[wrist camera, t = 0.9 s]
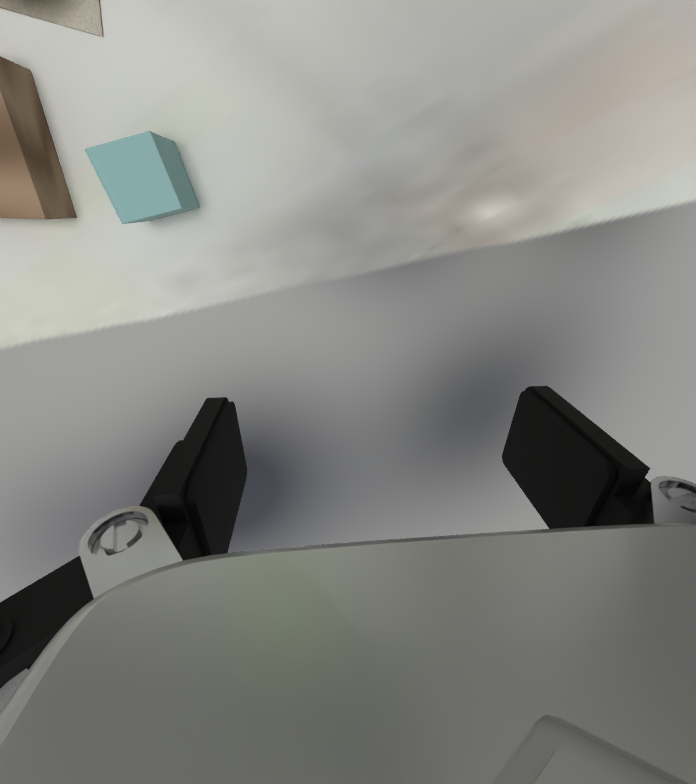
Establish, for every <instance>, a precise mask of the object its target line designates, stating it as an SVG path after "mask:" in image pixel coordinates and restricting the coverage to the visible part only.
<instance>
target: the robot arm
mask: <svg viewBox="0 0 696 784" xmlns="http://www.w3.org/2000/svg"><path fill="white" fill-rule="evenodd" d="M502 459H503V463H504V465H505V466H506V468H507V469H508V471H509V472H510V473H511V475H512V476H513V478H514V479H515V481H516V482H517V483H518V485H519V486H520V488H521V489H522V491H523V492H524V493H525V495H526V496H527V498H528V499H529V500H530V502H531V503H532V505H533V506H534V508H535V509H536V510H537V512H538V513H539V514H540V516H541V517H542V519H543V520H544V522H545V523H546V524H547V526H548V527H549V529H542V530H525V531H509V532H495V533H479V534H463V535H449V536H434V537H419V538H405V539H390V540H376V541H362V542H349V543H335V544H321V545H308V546H296V547H284V548H272V549H261V550H250V551H240V552H232V553H227V552H228V548H229V544H230V540H231V536H232V533H233V529H234V524H235V521H236V517H237V513H238V509H239V505H240V501H241V497H242V493H243V489H244V486H245V482H246V476H247V466H246V461H245V456H244V450H243V445H242V440H241V435H240V429H239V424H238V419H237V413H236V408H235V404H234V402H229V401H228V399H227V398H226V397H224V398H223V397H222V398H207V399H206V400H205V402H204V404H203V406H202V408H201V409H200V411H199V413H198V415H197V416H196V418H195V420H194V422H193V424H192V425H191V427H190V429H189V431H188V433H187V434H186V436H185V438H184V440H181V441H178V442H177V443H176V444H175V445H174V447H173V449H172V451H171V453H170V454H169V456H168V457H167V459H166V461H165V463H164V464H163V466H162V468H161V470H160V471H159V473H158V475H157V476H156V478H155V480H154V482H153V483H152V485H151V487H150V489H149V490H148V492H147V493H146V495H145V497H144V499H143V500H142V502H141V504H140V506H131V507H127V508H121V509H119V510H116V511H114V512H111V513H109V514H108V515H106V516H104V517H103V518H101V519H99V520H98V521H97V522H96V523H95V524H93V525H92V526H91V527H90V528H89V529H88V530H87V532H86V533H85V534H84V535H83V537H82V539H81V541H80V544H79V555H80V556H78V557H76V558H75V559H73V560H71V561H70V562H68V563H66V564H65V565H63V566H61V567H60V568H58V569H56V570H55V571H53V572H51V573H49V574H48V575H46V576H44V577H43V578H41V579H39V580H37V581H36V582H34V583H33V584H31V585H29V586H27V587H26V588H24V589H23V590H21V591H19V592H17V593H16V594H14V595H12V596H10V597H9V598H7V599H5V600H4V601H2V602H0V784H696V484H694V483H692V482H689V481H687V480H683V479H680V478H676V477H668V476H660V477H656V478H654V479H653V480H652V481H651V482H649V481H648V480H647V479H646V478H645V476H646V474H647V473H648V471H649V469H650V468H649V467H648V466H647V465H645V464H644V463H643V462H642V461H640V460H639V459H638V458H637V457H635V456H634V455H633V454H632V453H630V452H629V451H628V450H627V449H625V448H624V447H623V446H622V445H621V444H619V443H618V442H617V441H616V440H614V439H613V438H612V437H611V436H609V435H608V434H607V433H606V432H604V431H603V430H602V429H601V428H599V427H598V426H597V425H596V424H594V423H593V422H592V421H591V420H589V419H588V418H587V417H586V416H585V415H583V414H582V413H581V412H580V411H578V410H577V409H576V408H574V407H573V406H572V405H571V404H570V403H568V402H567V401H566V400H565V399H563V398H562V397H561V396H560V395H558V394H557V393H556V392H555V391H553V390H552V389H551V388H550V387H548V386H531V387H528V388H526V390H525V391H523V392H522V393H521V394H520V396H519V400H518V403H517V407H516V410H515V413H514V417H513V420H512V424H511V427H510V430H509V434H508V437H507V440H506V444H505V447H504V451H503V454H502Z"/></svg>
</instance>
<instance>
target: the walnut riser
mask: <svg viewBox="0 0 696 784" xmlns="http://www.w3.org/2000/svg"><path fill="white" fill-rule="evenodd" d="M0 218H23V219H60V218H77V217H76V214H75V211H74V208H73V205H72V201H71V198H70V195H69V192H68V189H67V185H66V182H65V179H64V176H63V173H62V169H61V166H60V163H59V160H58V157H57V154H56V150H55V147H54V144H53V141H52V138H51V134H50V131H49V128H48V125H47V122H46V118H45V115H44V112H43V109H42V106H41V102H40V99H39V96H38V93H37V90H36V86H35V83H34V80H33V77H32V74H31V71H30V70H28V69H26V68H24V67H22V66H20V65H18V64H15V63H13V62H11V61H9V60H7V59H5V58H3V57H0Z"/></svg>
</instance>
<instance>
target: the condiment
mask: <svg viewBox="0 0 696 784" xmlns="http://www.w3.org/2000/svg"><path fill="white" fill-rule="evenodd" d="M0 7H3V8H5V9H8V10H12V11H15V12H19V13H22V14H26V15H29V16H32V17H35V18H39V19H42V20H46V21H50V22H53V23H56V24H59V25H63V26H67V27H71V28H74V29H78V30H81V31H85V32H89V33H92V34H96V35H99V36H103V35H102V26H101V17H100V5H99V0H0Z"/></svg>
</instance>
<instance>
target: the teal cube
mask: <svg viewBox="0 0 696 784" xmlns="http://www.w3.org/2000/svg"><path fill="white" fill-rule="evenodd" d="M85 151H86V153H87V155H88V157H89V159H90V161H91V163H92V165H93V167H94V169H95V171H96V173H97V175H98V177H99V179H100V181H101V183H102V185H103V187H104V189H105V191H106V193H107V195H108V197H109V199H110V201H111V203H112V204H113V206H114V208H115V210H116V212H117V214H118V216H119V218H120V220H121V222H122V224H125V223H135V222H144V221H151V220H155V219H158V218H162V217H166V216H170V215H174V214H177V213H181V212H185V211H189V210H192V209H196V208H200V205H199V203H198V200H197V198H196V195H195V192H194V190H193V187H192V185H191V182H190V180H189V177H188V175H187V172H186V170H185V167H184V164H183V162H182V159H181V157H180V154H179V152H178V149H177V147H176V144H175V142H174V141H171V140H169V139H167V138H164V137H162V136H160V135H158V134H155V133H153V132H151V131H148V132H145V133H141V134H137V135H134V136H130V137H126V138H123V139H119V140H116V141H112V142H108V143H105V144H101V145H98V146H94V147H90V148H87V149H85Z"/></svg>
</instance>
